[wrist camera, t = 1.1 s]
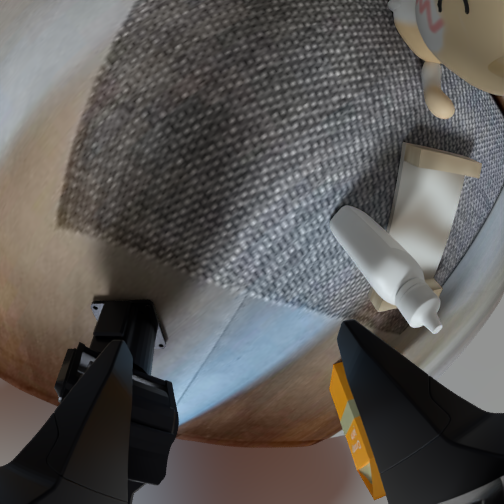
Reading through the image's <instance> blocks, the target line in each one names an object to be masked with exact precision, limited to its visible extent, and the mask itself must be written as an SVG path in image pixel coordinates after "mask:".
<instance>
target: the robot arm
mask: <svg viewBox="0 0 504 504" xmlns="http://www.w3.org/2000/svg"><path fill="white" fill-rule="evenodd" d="M147 305H149V306H147ZM91 309H92V311H93V313H94V315H95V318H96V320H97V324H96V326H95V329H94V332H93V335H94V336H93V339H92V342H91V345H90V348H88V347H86V346H85V345H84V344H82V343H81V342H79V345H78V347H77V349H76V348H74V349H68V350H67V353H66V356H65V359H64V361H63V364H62V367H61V370H60V372H59V375H58V378H57V381H56V384H55V387H54V388H55V390H56V392H57V394H58V396H59V399H58V401H59V402H60V405H59V406H58V407H57V409H56V410H55V411H54V413H53V414H52V415H51V416H50V418H49V419H48V420H47V422H46V423H45V424H44V425H43V427H42V428H41V429H40V430H39V432H38V433H37V434H36V435H35V436H34V437H33V438H32V440H31V441H30V442H29V443H28V444H27V445H26V446H25V447H24V448H23V449H22V451H21V452H20V453H19V454H18V455H17V456H16V457H15V458H14V459H13V460H12V461H11V462H10V463H8V464H6V465H4V466H1V467H0V504H132V499H133V495H134V493H135V492H136V491H138V490H139V489H140V488H141V487H143V486H144V485H145V484H152V485H159V484H160V482H161V481H162V480H163V479H164V477H165V475H166V467H167V459H168V454H169V451H170V447H171V445H172V443H173V442H174V440H175V437H176V435H177V431H178V425H179V418H178V412H177V407H176V402H175V397H174V392H173V386H172V382H170V381H167V380H165V381H164V380H161V379H159V378H156V377H153V376H151V370H152V362H153V354H154V349H163V348H165V347H166V341H165V338H164V335H163V332H162V329H161V326H160V323H159V320H158V316H157V313H156V310H155V306H154V303H153V302H152V301H150V300H128V301H93V302H92V304H91ZM337 342H338V346H339V350H340V354H341V358H342V362H343V366H344V370H345V374H346V378H347V381H348V384H349V387H350V389H351V392H352V395H353V398H354V400H355V403H356V406H357V409H358V411H359V414H360V417H361V420H362V423H363V425H364V428H365V431H366V434H367V437H368V440H369V443H370V446H371V449H372V452H373V455H374V458H375V461H376V464H377V467H378V470H379V473H380V477H381V480H382V484H383V487H384V490H385V493H386V497H387V500H388V504H504V413H490V412H486V411H484V410H481V409H480V408H478V407H476V406H475V405H473V404H471V403H469V402H468V401H466V400H464V399H463V398H461V397H459V396H458V395H456V394H455V393H453V392H452V391H450V390H449V389H447V388H446V387H444V386H443V385H442V384H440V383H439V382H437V381H436V380H435V379H433V378H432V377H431V376H428V374H427V373H425V372H424V371H423V370H421V369H420V368H419V367H417V366H416V365H415V364H413V363H412V362H411V361H409V360H408V359H407V358H405V357H404V356H403V355H402V354H400V353H399V352H398V351H396V350H395V349H394V348H392V347H391V346H390V345H388V344H387V343H386V342H384V341H383V340H382V339H380V338H379V337H378V336H376V335H375V334H374V333H372V332H371V331H370V330H368V329H367V328H366V327H364V326H363V325H362V324H360V323H359V322H357V321H356V320H354V319H351V320H345V321H343V322H342V324H341V327H340V330H339V333H338V337H337Z"/></svg>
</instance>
